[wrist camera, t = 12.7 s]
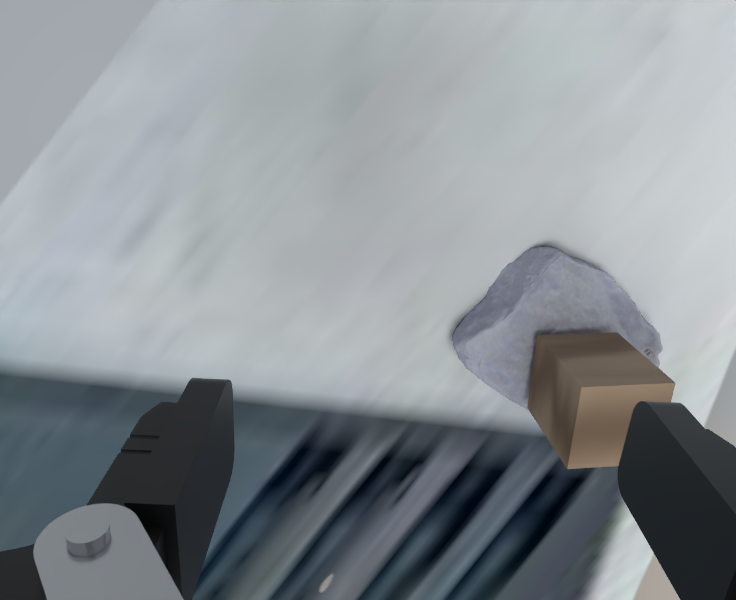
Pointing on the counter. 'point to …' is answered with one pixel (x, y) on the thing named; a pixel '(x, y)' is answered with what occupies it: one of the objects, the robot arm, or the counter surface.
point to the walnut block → (591, 394)
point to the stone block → (544, 318)
